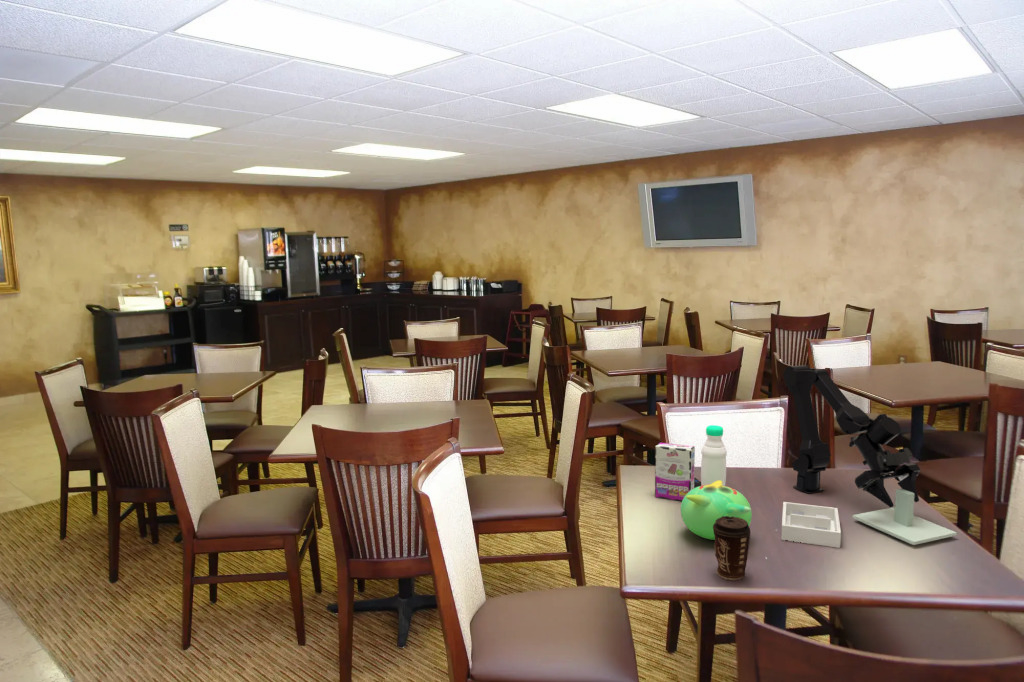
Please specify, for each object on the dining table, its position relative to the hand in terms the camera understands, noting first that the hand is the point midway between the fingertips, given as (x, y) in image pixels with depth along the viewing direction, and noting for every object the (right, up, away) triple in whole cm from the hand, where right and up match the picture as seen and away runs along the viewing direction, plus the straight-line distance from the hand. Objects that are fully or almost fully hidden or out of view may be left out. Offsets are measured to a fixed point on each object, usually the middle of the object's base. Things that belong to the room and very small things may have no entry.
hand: (905, 504), depth 189 cm
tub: (-25, -8, +2) cm, 26 cm away
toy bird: (-52, -9, -2) cm, 52 cm away
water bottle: (-47, -6, +17) cm, 50 cm away
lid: (0, -6, +1) cm, 6 cm away
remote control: (-48, -2, +46) cm, 66 cm away
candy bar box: (-56, -5, +27) cm, 62 cm away
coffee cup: (-54, -12, -22) cm, 59 cm away
